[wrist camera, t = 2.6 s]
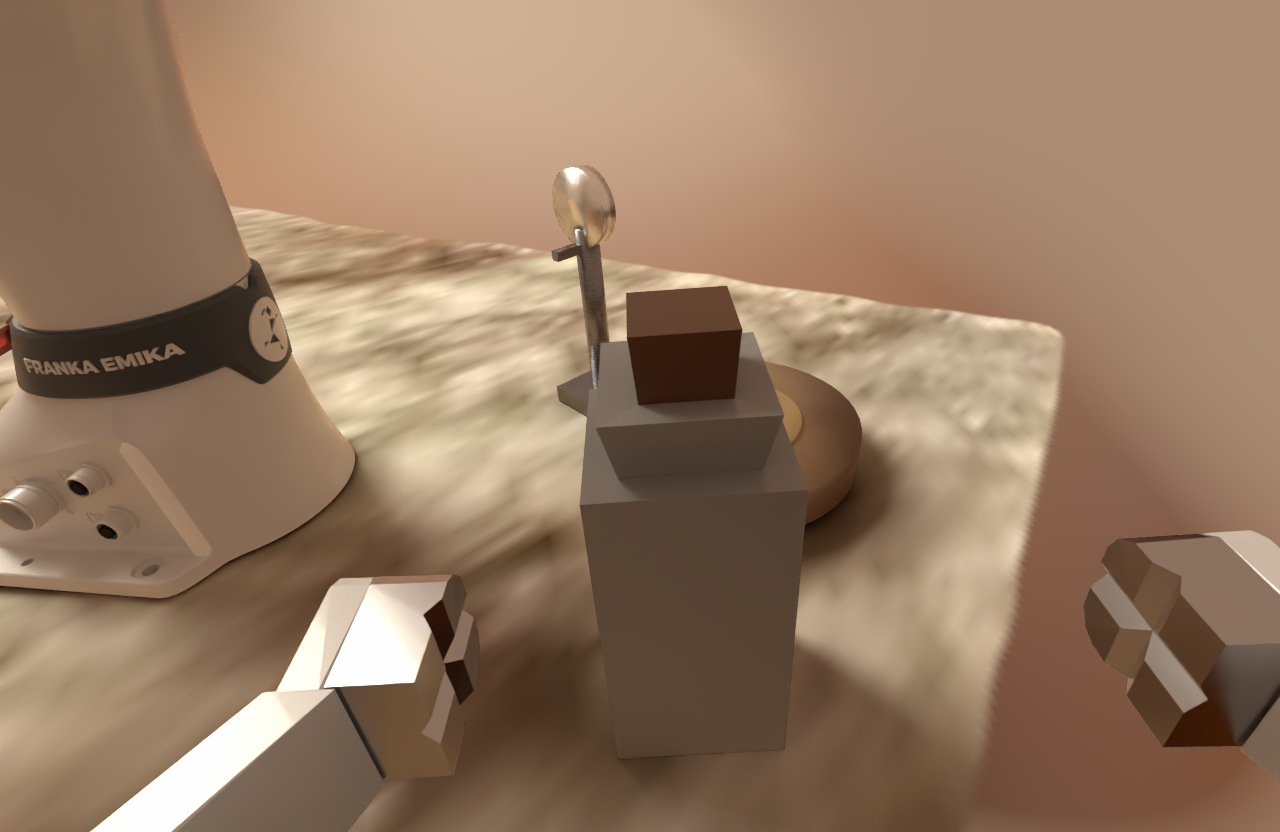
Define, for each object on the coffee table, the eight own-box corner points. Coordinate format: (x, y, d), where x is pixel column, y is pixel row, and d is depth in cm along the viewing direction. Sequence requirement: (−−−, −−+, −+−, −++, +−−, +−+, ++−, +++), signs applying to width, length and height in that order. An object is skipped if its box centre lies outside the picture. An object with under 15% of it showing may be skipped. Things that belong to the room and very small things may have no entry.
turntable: (603, 549, 36) (598, 511, 35) (603, 397, 50) (600, 365, 48) (897, 525, 36) (904, 487, 35) (817, 379, 50) (820, 347, 48)
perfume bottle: (618, 625, 33) (575, 277, 23) (756, 616, 33) (771, 262, 23) (618, 759, 27) (559, 372, 17) (784, 749, 27) (820, 354, 17)
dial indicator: (598, 425, 48) (568, 181, 38) (556, 401, 51) (520, 170, 42) (651, 397, 51) (635, 163, 41) (608, 375, 54) (585, 154, 45)
